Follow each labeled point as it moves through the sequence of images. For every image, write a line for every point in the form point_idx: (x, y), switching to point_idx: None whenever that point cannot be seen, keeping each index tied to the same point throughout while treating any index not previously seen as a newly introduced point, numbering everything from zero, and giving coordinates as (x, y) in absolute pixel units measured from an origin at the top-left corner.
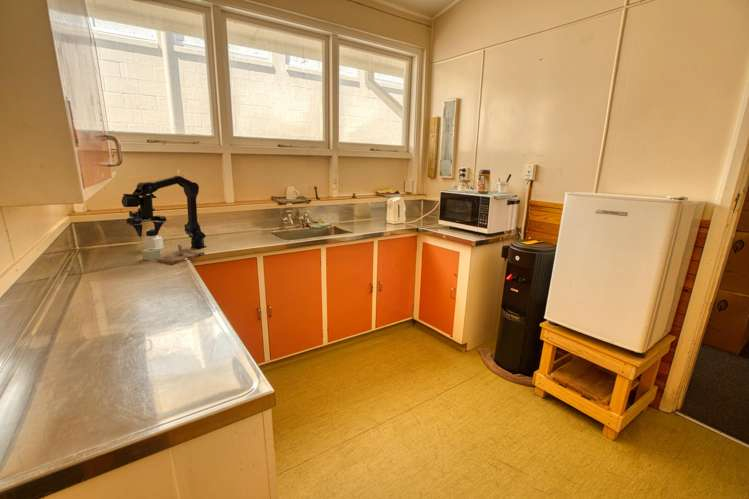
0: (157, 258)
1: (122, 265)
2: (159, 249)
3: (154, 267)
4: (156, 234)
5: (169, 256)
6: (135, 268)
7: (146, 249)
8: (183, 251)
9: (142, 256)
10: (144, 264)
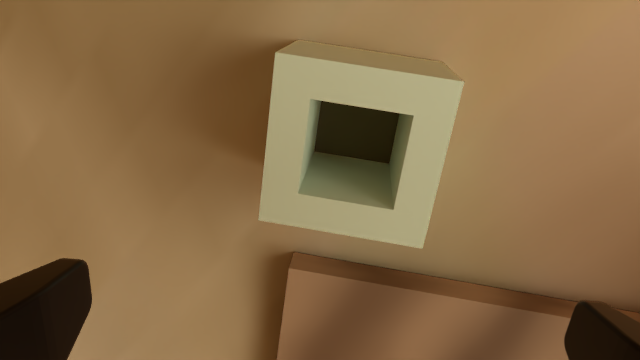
0: (292, 272)
1: (40, 18)
2: (421, 245)
3: (147, 353)
4: (565, 345)
5: (395, 333)
6: (52, 229)
7: (348, 81)
8: None
9: (291, 44)
10: (167, 212)
